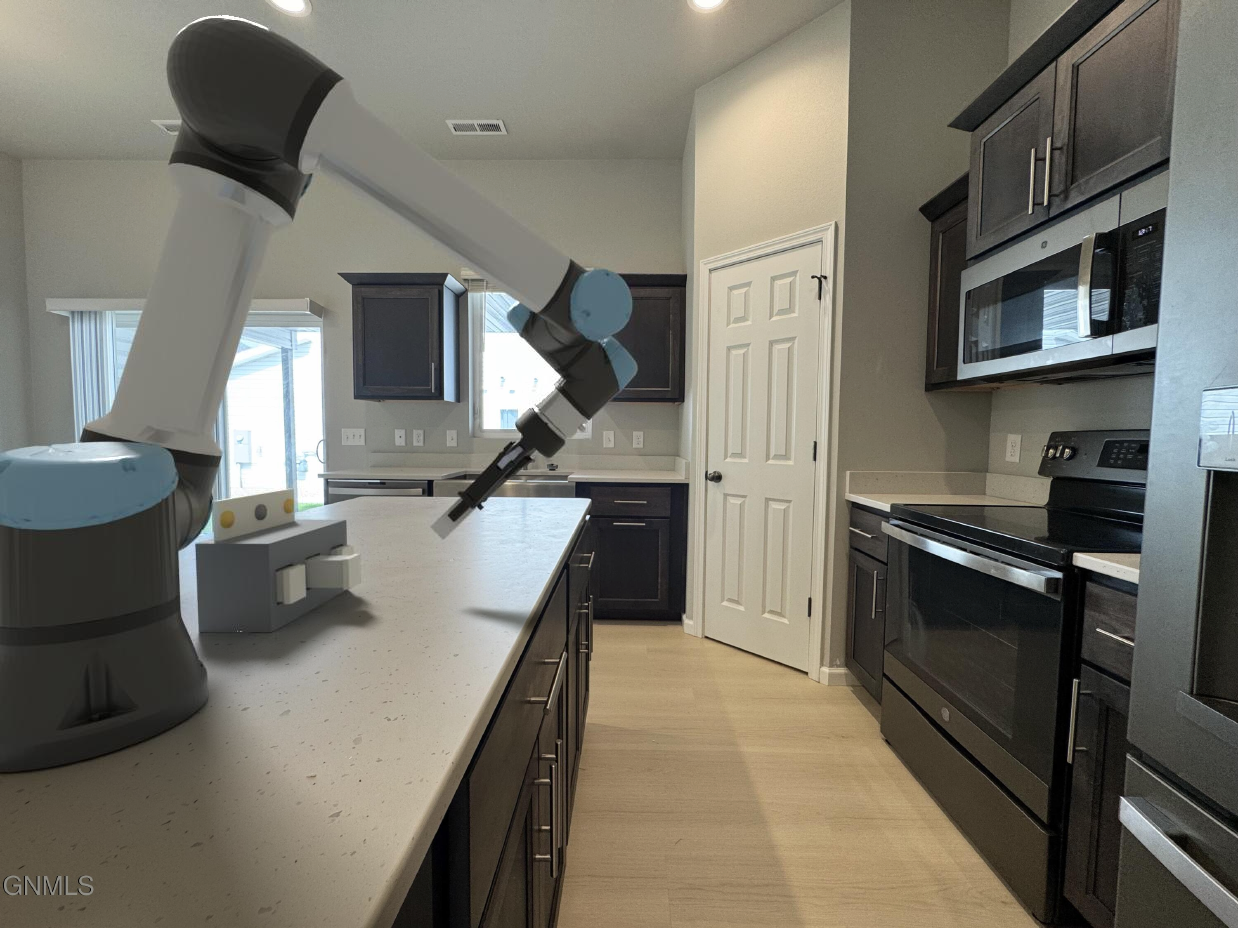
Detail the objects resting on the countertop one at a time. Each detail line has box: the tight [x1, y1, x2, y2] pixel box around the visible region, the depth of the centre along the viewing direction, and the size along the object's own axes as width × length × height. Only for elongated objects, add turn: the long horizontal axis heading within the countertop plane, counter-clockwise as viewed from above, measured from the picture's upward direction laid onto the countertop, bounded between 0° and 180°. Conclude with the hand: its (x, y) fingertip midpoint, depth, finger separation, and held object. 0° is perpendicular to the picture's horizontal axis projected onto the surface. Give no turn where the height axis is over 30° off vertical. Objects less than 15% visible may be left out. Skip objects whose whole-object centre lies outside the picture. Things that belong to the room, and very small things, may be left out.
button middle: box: [306, 553, 362, 591], centre depth 78 cm, size 3×8×4 cm, turn 89°
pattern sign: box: [212, 488, 296, 541], centre depth 77 cm, size 16×1×5 cm, turn 179°
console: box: [194, 519, 348, 633], centre depth 78 cm, size 19×9×11 cm, turn 179°
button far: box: [331, 544, 355, 556], centre depth 84 cm, size 3×8×4 cm, turn 89°
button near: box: [276, 564, 306, 604], centre depth 71 cm, size 3×8×4 cm, turn 89°
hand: (438, 532), depth 84 cm, fingers closed
